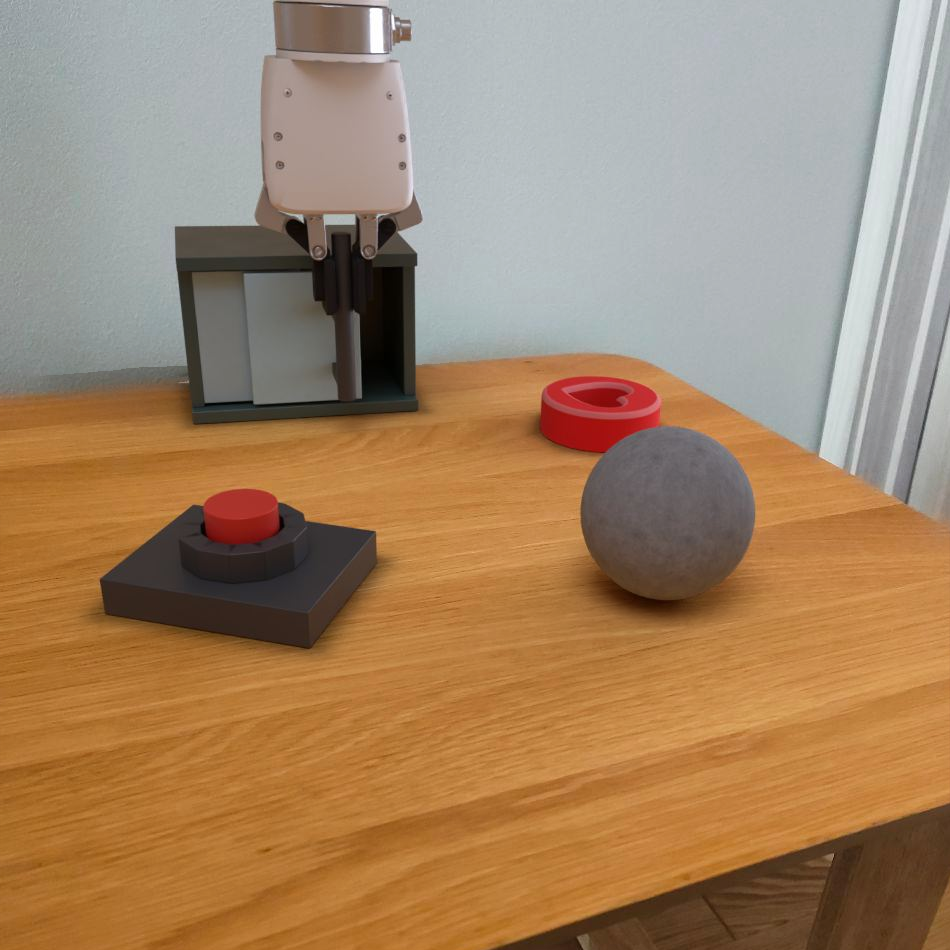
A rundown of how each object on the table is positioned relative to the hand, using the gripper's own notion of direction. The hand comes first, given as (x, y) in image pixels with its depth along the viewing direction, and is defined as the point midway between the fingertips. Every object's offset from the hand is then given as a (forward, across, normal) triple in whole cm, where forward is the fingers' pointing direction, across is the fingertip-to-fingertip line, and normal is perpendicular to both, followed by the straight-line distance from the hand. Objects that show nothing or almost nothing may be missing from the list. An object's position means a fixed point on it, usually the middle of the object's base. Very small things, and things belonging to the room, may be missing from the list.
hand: (343, 308), depth 78 cm
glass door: (+9, +3, -2) cm, 9 cm away
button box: (+10, +9, +23) cm, 26 cm away
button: (+6, +9, +23) cm, 25 cm away
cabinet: (+10, +2, -10) cm, 15 cm away
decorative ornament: (+10, -20, +2) cm, 23 cm away
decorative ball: (+10, -14, +28) cm, 33 cm away
